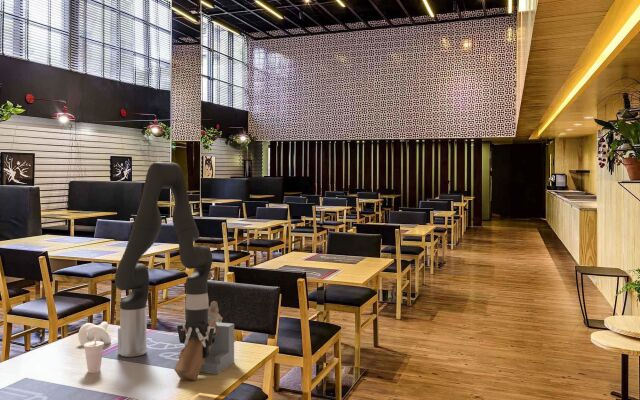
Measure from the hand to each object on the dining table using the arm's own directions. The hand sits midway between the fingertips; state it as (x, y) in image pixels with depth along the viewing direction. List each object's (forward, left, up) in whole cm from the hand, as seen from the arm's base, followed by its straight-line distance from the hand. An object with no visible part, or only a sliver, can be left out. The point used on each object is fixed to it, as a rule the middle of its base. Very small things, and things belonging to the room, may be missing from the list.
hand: (197, 356), depth 168 cm
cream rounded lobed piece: (-54, +15, -6) cm, 57 cm away
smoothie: (-34, -9, -6) cm, 36 cm away
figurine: (-14, +31, -5) cm, 34 cm away
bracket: (0, +9, -6) cm, 11 cm away
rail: (0, +2, 0) cm, 2 cm away
